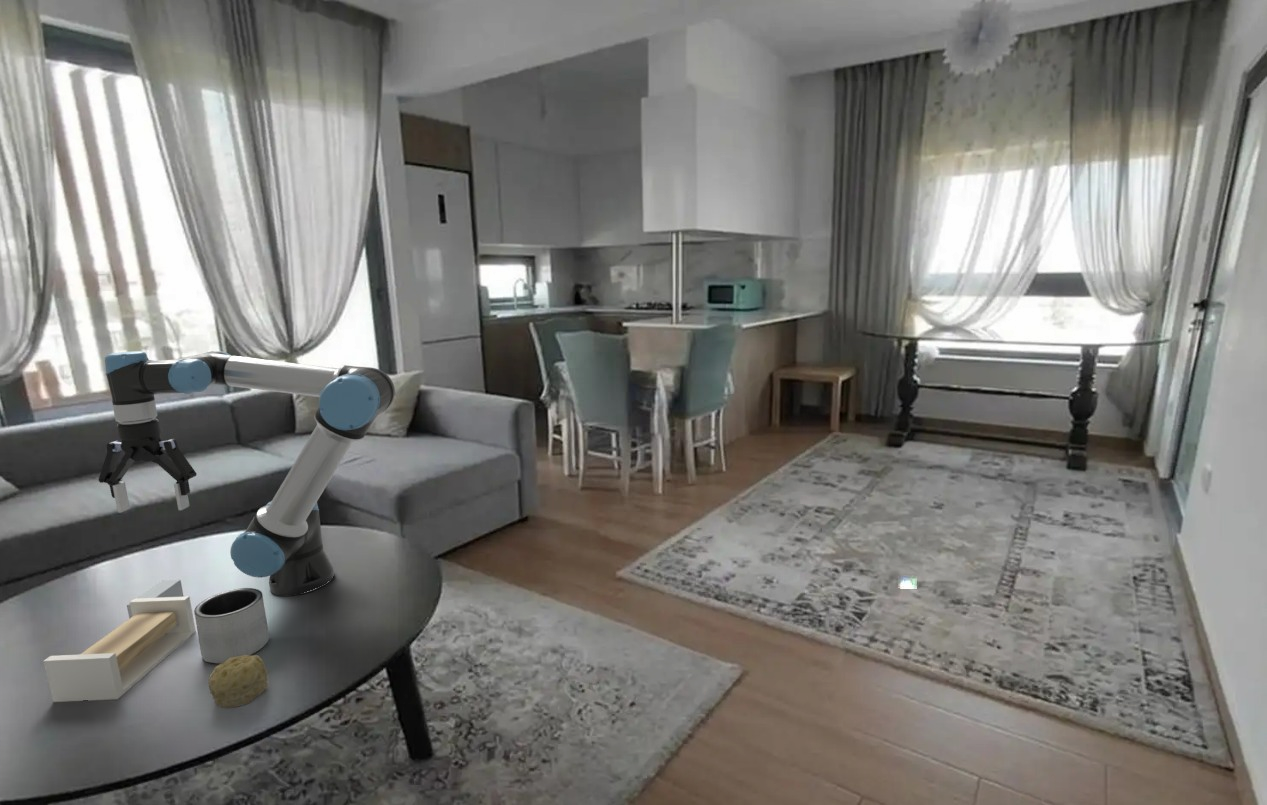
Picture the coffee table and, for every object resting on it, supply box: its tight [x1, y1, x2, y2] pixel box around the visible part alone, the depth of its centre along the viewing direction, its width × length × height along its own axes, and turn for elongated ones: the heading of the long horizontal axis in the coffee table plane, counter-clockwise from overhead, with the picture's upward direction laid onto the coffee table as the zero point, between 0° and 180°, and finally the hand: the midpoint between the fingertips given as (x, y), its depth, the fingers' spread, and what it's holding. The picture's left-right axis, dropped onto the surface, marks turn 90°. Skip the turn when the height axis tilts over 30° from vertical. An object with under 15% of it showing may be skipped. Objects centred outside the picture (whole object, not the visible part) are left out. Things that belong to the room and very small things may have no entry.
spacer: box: [126, 579, 185, 620], centre depth 151 cm, size 4×12×5 cm, turn 2°
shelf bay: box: [43, 595, 197, 703], centre depth 130 cm, size 12×23×9 cm, turn 2°
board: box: [79, 612, 177, 670], centre depth 130 cm, size 8×18×3 cm, turn 2°
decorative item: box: [208, 654, 269, 709], centre depth 119 cm, size 10×10×10 cm
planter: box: [194, 587, 270, 665], centre depth 134 cm, size 13×12×11 cm
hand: (154, 509), depth 145 cm, fingers open, 13 cm apart
